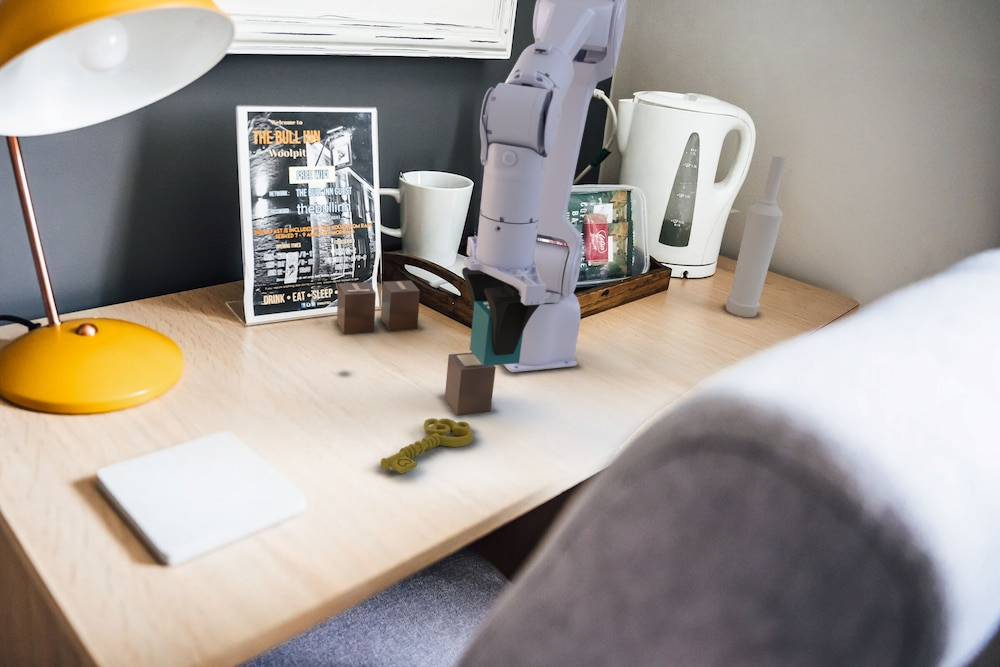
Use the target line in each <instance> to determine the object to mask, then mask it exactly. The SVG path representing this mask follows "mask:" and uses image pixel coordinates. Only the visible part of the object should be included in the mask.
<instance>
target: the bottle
mask: <svg viewBox="0 0 1000 667" xmlns="http://www.w3.org/2000/svg"><path fill="white" fill-rule="evenodd" d="M787 158H788V156H786V155H783V154H772V156H771V161H770V165H769V170H768V174H767V179H766V183H765V186H764V190H763V194H762V197H761V198H759V201H758V202H756V203H755V204H753V205H752V206H750V207H748V210H747V215H746V221H745V225H744V230H743V233H742V237H741V242H740V248H739V252H738V257H737V262H736V266H735V270H734V276H733V279H732V283H731V289H730V293H729V296H727V297H726V303H725V310H726V311H727V312H728V313H730V314H732V315H735V316H738V317H741V318H742V317H743V318H753V317H756V316H757V315H758V312H759V309H760V305H761V304H760V299H761V295H762V292H763V289H764V285H765V281H766V278H767V274H768V271H769V267H770V263H771V260H772V257H773V253H774V250H775V246H776V242H777V239H778V235H779V230H780V227H781V224H782V221H783V218H784V217H783V216H784V213H783V212H782V210H781V209H780V207H779V206H778V201H777V197H778V192H779V189H780V185H781V180H782V176H783V172H784V170H785V166H786V162H787Z"/></svg>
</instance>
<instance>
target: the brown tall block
mask: <svg viewBox="0 0 1000 667" xmlns="http://www.w3.org/2000/svg"><path fill="white" fill-rule="evenodd" d="M446 370H447V371H446V379H445V388H444V389H445V390H444V399H445V401H446V402H447V403H448V405H449V406H450V408H451V409H452V410H453V412H454V413H455V414H456V416H463V415H471V414H479V413H488V412H491V410H492V402H493V395H494V394H493V393H494V387H495V386H494V385H495V375H496V365H491V366H483V365H482V364H481V363H480V361H479V360H478V359H477V358H476V357H475V355H474V354H473V353H472V352H471V351H470V352H461V353H450V354H449V353H448V357H447V369H446Z"/></svg>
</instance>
